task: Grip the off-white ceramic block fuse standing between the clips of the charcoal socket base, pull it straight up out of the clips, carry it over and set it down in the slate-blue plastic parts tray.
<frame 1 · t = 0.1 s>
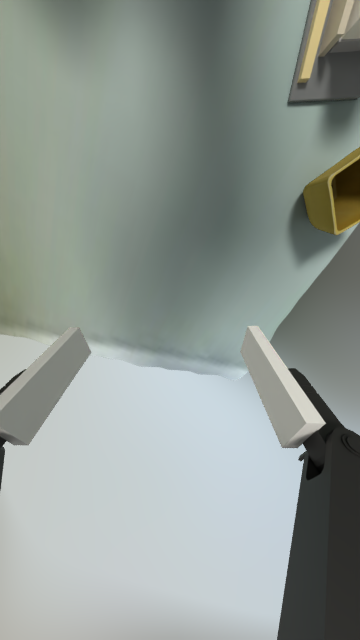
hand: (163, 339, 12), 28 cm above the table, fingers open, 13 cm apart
flower pot: (318, 195, 29), on the table
fuse: (357, 18, 19), resting on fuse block
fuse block: (345, 23, 19), on the table
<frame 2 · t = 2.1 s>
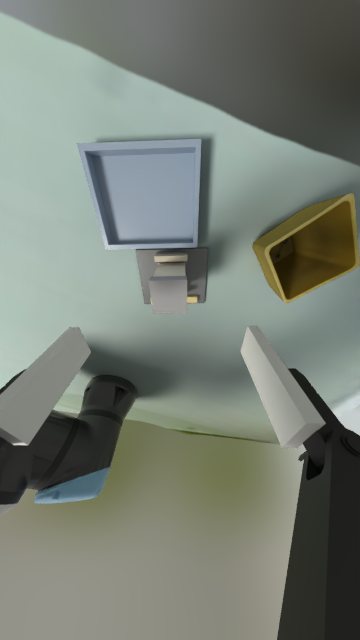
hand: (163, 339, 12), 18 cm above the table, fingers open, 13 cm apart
flower pot: (273, 246, 25), on the table
fuse: (172, 273, 27), resting on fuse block
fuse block: (173, 278, 28), on the table
tray: (149, 204, 22), on the table
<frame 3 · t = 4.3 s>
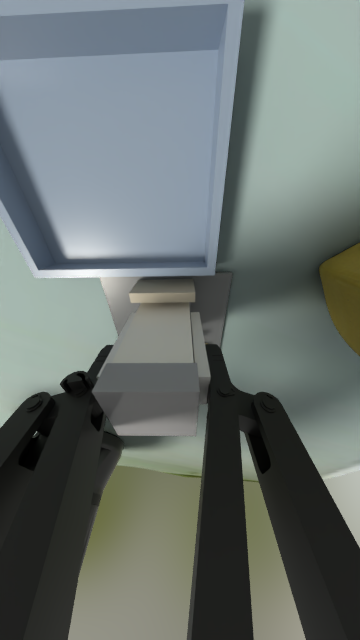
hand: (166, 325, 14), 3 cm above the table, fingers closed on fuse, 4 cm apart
flower pot: (352, 269, 14), on the table
fuse: (168, 312, 16), resting on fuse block, touching gripper
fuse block: (169, 318, 17), on the table
tray: (117, 188, 11), on the table
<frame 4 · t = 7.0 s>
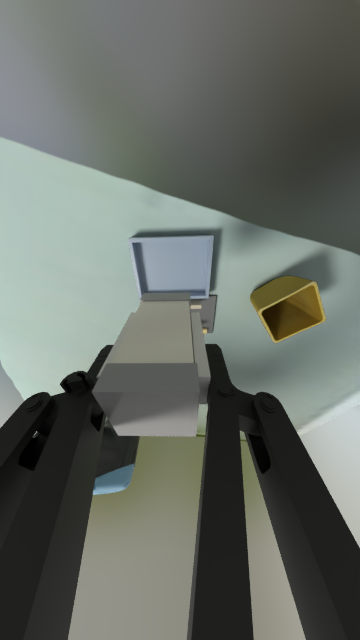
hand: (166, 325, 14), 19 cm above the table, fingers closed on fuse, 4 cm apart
flower pot: (267, 293, 33), on the table
fuse: (168, 312, 16), point 17 cm above the table, touching gripper
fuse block: (188, 315, 36), on the table
tray: (172, 267, 30), on the table
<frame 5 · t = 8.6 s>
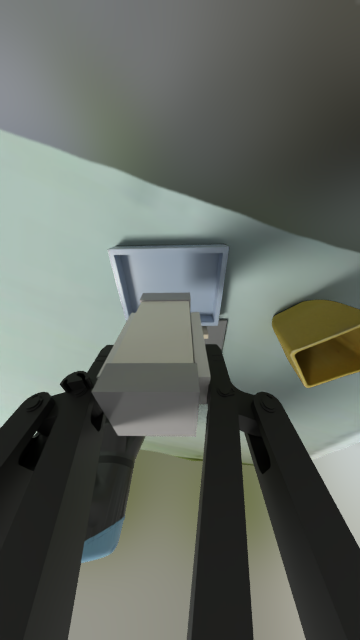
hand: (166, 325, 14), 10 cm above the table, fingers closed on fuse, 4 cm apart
flower pot: (291, 317, 26), on the table
fuse: (167, 312, 16), point 8 cm above the table, touching gripper
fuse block: (190, 341, 29), on the table
tray: (171, 286, 22), on the table
when the fingers open (4 cm above the table, at t = 10.0 s): fuse drops 1 cm, resting on tray.
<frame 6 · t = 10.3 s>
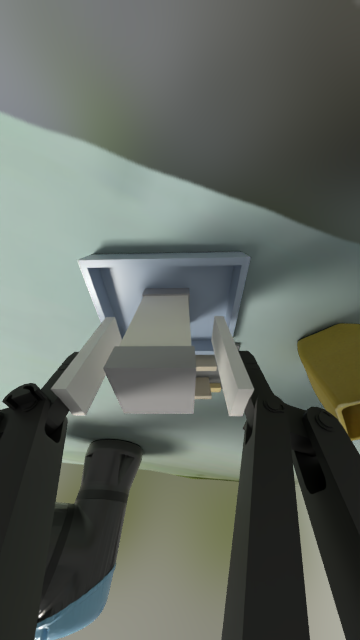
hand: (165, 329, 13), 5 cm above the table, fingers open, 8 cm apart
flower pot: (320, 341, 20), on the table
fuse: (168, 307, 17), point 1 cm above the table, touching tray
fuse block: (192, 367, 23), on the table
tray: (169, 304, 17), on the table
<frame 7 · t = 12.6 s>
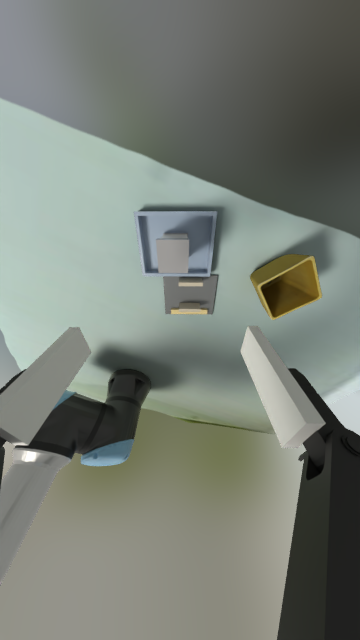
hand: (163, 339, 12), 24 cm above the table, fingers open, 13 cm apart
flower pot: (266, 274, 34), on the table
fuse: (176, 245, 30), point 1 cm above the table, touching tray
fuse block: (189, 295, 37), on the table
tray: (176, 245, 30), on the table
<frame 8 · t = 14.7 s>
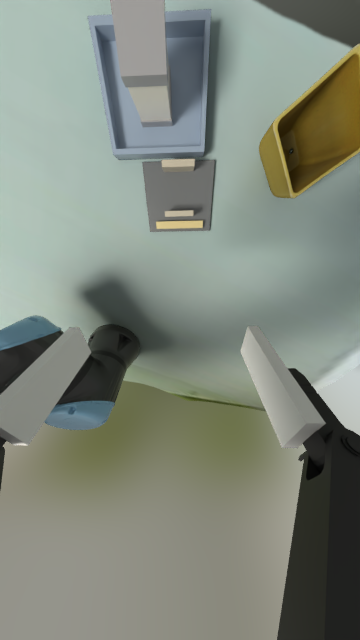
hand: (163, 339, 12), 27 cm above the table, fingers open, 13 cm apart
flower pot: (280, 159, 25), on the table
fuse: (156, 102, 22), point 1 cm above the table, touching tray
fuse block: (179, 199, 28), on the table
tray: (156, 105, 22), on the table
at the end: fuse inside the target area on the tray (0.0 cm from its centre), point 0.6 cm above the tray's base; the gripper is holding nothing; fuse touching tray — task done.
